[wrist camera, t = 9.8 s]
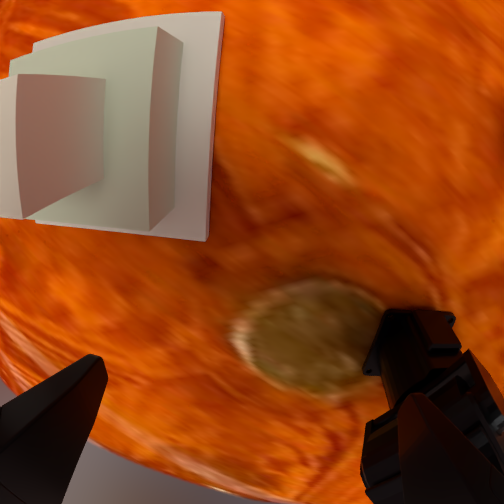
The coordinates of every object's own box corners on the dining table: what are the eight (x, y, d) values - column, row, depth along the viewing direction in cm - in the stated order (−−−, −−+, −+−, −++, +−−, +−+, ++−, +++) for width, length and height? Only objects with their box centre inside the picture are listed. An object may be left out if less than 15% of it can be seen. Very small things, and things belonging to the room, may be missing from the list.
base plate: (208, 235, 20) (205, 241, 19) (43, 218, 21) (35, 223, 20) (224, 16, 14) (221, 11, 13) (41, 44, 15) (33, 43, 14)
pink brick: (103, 178, 14) (22, 219, 9) (35, 177, 14) (-43, 212, 9) (105, 79, 12) (17, 73, 6) (34, 91, 12) (-50, 100, 7)
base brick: (174, 207, 19) (149, 231, 15) (50, 199, 19) (14, 217, 15) (183, 42, 14) (157, 26, 11) (49, 62, 15) (10, 60, 11)
